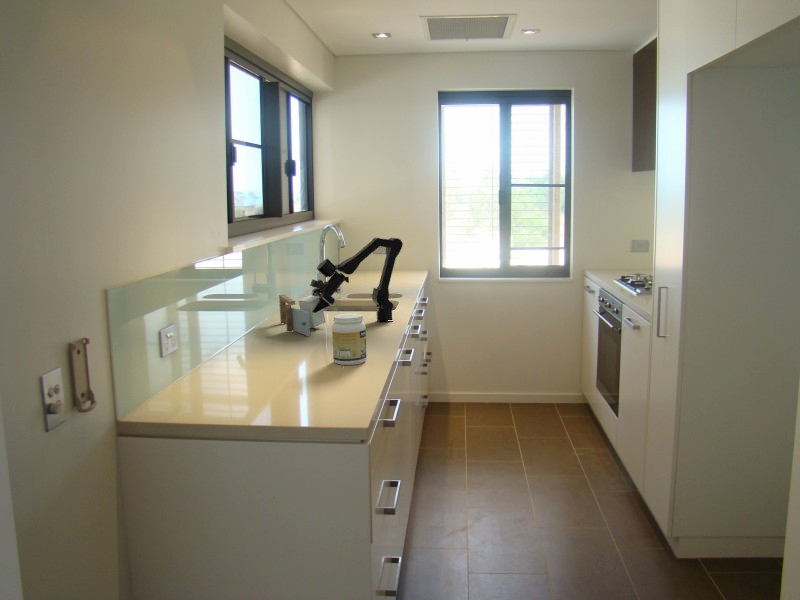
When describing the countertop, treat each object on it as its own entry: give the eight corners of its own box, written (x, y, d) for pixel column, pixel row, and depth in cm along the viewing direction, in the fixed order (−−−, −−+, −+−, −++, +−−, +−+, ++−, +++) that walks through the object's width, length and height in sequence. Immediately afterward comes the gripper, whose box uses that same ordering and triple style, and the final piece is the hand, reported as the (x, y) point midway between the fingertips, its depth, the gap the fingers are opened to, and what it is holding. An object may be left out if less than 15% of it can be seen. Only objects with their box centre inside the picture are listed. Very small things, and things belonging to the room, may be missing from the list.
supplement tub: (367, 365, 247) (365, 317, 244) (333, 366, 246) (330, 319, 243) (366, 356, 259) (364, 311, 256) (333, 358, 258) (331, 313, 255)
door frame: (296, 331, 309) (295, 301, 307) (287, 332, 308) (285, 301, 306) (285, 323, 330) (284, 294, 327) (277, 323, 328) (275, 295, 326)
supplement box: (314, 328, 310) (308, 301, 306) (303, 326, 315) (297, 300, 311) (326, 322, 315) (320, 296, 311) (315, 320, 320) (309, 294, 316)
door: (289, 330, 310) (288, 308, 308) (294, 329, 311) (293, 307, 309) (304, 336, 296) (303, 313, 295) (309, 335, 297) (308, 312, 296)
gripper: (315, 270, 321) (293, 296, 319) (326, 274, 304) (303, 302, 302) (332, 285, 325) (310, 311, 323) (344, 290, 308) (321, 318, 306)
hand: (311, 310), depth 313 cm, fingers closed on supplement box, 9 cm apart
